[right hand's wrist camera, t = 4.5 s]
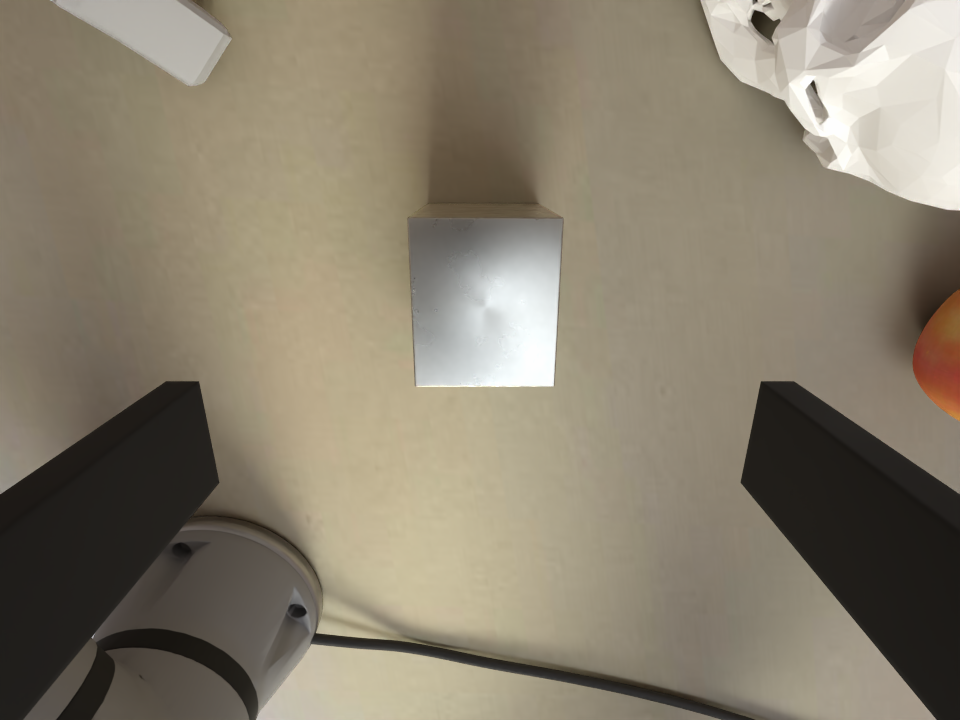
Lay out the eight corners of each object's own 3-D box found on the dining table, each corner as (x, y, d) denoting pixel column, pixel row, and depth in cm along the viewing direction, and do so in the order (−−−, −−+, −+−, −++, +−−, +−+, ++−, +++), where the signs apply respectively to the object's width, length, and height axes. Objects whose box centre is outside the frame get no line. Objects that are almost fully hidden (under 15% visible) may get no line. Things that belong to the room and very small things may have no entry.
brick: (427, 203, 32) (407, 217, 22) (539, 203, 32) (563, 217, 23) (431, 329, 34) (414, 387, 25) (534, 329, 34) (554, 386, 25)
